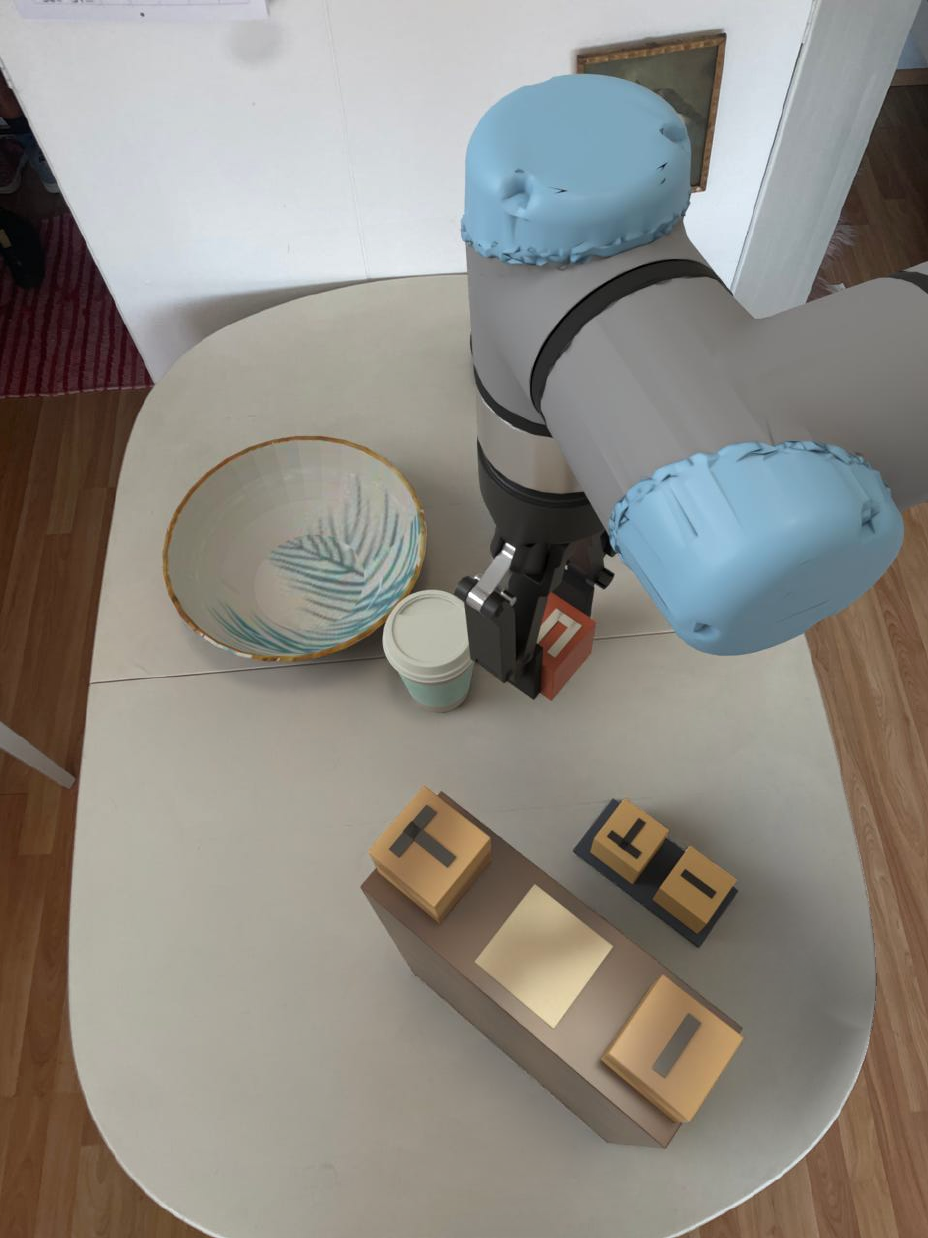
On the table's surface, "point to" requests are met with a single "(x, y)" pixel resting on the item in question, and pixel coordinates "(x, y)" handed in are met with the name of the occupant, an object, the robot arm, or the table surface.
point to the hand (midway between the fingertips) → (544, 655)
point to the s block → (563, 644)
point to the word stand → (546, 975)
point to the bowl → (294, 548)
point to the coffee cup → (430, 648)
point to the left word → (657, 870)
